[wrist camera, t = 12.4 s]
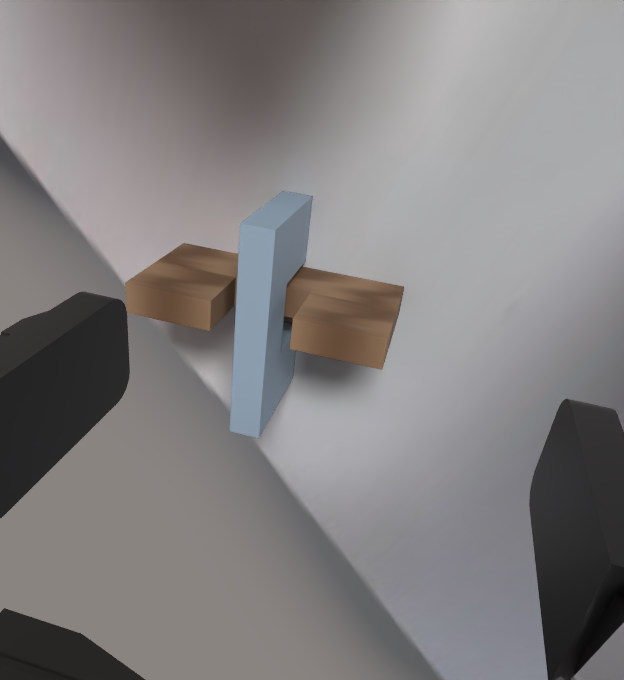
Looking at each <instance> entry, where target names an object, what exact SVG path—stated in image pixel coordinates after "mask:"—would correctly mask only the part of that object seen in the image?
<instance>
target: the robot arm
mask: <svg viewBox="0 0 624 680" xmlns="http://www.w3.org/2000/svg"><path fill="white" fill-rule="evenodd" d="M127 328H128V326H127V311H126V307H125V304H124V303H123V302H122V301H121V300H119V299H115V298H111V297H106V296H101V295H97V294H93V293H88V292H79V293H77V294H75V295H74V296H72V297H71V298H69V299H67V300H66V301H64V302H62V303H61V304H59V305H58V306H56V307H54V308H53V309H51V310H49V311H47V312H43V313H40V314H37V315H34V316H31V317H28V318H24V319H22V320H20V321H19V322H17V323H16V324H14V325H12V326H10V327H9V328H7V329H5V330H4V331H2V332H1V335H0V518H2V517H3V516H4V515H5V514H6V513H7V512H8V511H9V510H10V509H11V508H12V507H13V506H14V505H15V504H16V503H17V502H18V501H19V500H20V499H21V498H22V497H23V496H24V495H25V494H26V493H27V492H28V491H29V490H30V489H31V488H32V487H33V486H34V485H35V484H36V483H37V482H38V481H39V480H40V479H41V478H42V477H43V476H44V475H45V474H46V473H47V472H48V471H49V470H50V469H51V468H52V467H53V466H54V465H55V464H56V463H57V462H58V461H59V460H60V459H61V458H62V457H63V456H64V455H65V454H66V453H67V452H68V451H69V450H71V448H73V447H74V445H76V444H77V443H78V442H79V441H80V440H81V439H82V437H84V436H85V435H86V434H87V433H88V432H89V431H90V430H91V429H92V428H93V427H94V426H95V425H96V423H98V422H99V421H100V420H101V419H102V418H103V417H104V416H105V415H106V414H107V413H108V412H109V411H110V410H111V409H112V408H113V407H114V406H115V405H116V404H117V403H118V402H119V401H120V399H121V398H122V396H123V394H124V392H125V390H126V387H127V384H128V380H129V373H130V369H129V348H128V329H127ZM530 516H531V525H532V534H533V543H534V553H535V562H536V571H537V580H538V590H539V599H540V608H541V617H542V627H543V636H544V645H545V654H546V664H547V673H548V680H624V432H623V429H622V426H621V424H620V421H619V418H618V416H617V413H616V411H615V410H613V409H610V408H606V407H601V406H597V405H592V404H588V403H583V402H578V401H574V400H569V399H565V400H564V401H563V402H562V403H561V405H560V407H559V409H558V411H557V414H556V416H555V419H554V422H553V424H552V427H551V430H550V432H549V435H548V437H547V440H546V443H545V445H544V448H543V451H542V453H541V456H540V459H539V461H538V464H537V467H536V469H535V472H534V476H533V480H532V484H531V491H530ZM0 680H145V679H143V678H142V677H141V676H140V675H138V674H137V673H135V672H134V671H132V670H131V669H130V668H128V667H127V666H125V665H124V664H123V663H121V662H120V661H118V660H117V659H116V658H114V657H113V656H112V655H110V654H109V653H107V652H106V651H105V650H103V649H102V648H101V647H99V646H98V645H96V644H95V643H94V642H92V641H91V640H89V639H88V638H86V637H85V636H84V635H82V634H81V633H77V632H74V631H71V630H68V629H65V628H62V627H59V626H56V625H53V624H50V623H47V622H44V621H41V620H38V619H35V618H32V617H29V616H26V615H23V614H20V613H17V612H14V611H11V610H8V609H5V608H4V609H3V610H2V611H1V613H0Z"/></svg>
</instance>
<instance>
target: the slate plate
mask: <svg viewBox="0 0 624 680" xmlns="http://www.w3.org/2000/svg"><path fill="white" fill-rule="evenodd" d="M312 197H313V196H309V195H303V194H297V193H292V192H286V191H283V192H281V193H280V194H279V195H277V196H276V197H275V198H273V199H272V200H271V201H269V202H268V203H267V204H265V205H264V206H263V207H261V208H260V209H259V210H257V211H256V212H255V213H253V214H252V215H251V216H249V217H248V218H247V219H245V220H244V221H243V222H241V223H240V236H239V256H238V276H237V295H236V315H235V335H234V355H233V374H232V394H231V414H230V431H231V432H235V433H239V434H243V435H247V436H251V437H255V438H259V437H260V435H261V433H262V432H263V430H264V428H265V426H266V424H267V423H268V421H269V419H270V417H271V416H272V414H273V412H274V410H275V408H276V407H277V405H278V403H279V401H280V399H281V398H282V396H283V394H284V392H285V391H286V389H287V387H288V385H289V383H290V382H291V380H292V378H293V372H294V362H295V353H296V350H292V349H290V342H291V332H292V324H290V323H285V322H283V320H284V309H285V299H286V288H287V283H288V282H289V281H290V280H291V278H292V277H293V276H294V275H295V273H296V272H297V271H298V270H299V268H300V267H301V266H302V265H303V264H304V262H305V261H306V252H307V243H308V234H309V225H310V215H311V206H312Z"/></svg>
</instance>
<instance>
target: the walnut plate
mask: <svg viewBox="0 0 624 680" xmlns="http://www.w3.org/2000/svg"><path fill="white" fill-rule="evenodd" d="M238 256H239V254H235V253H230V252H225V251H220V250H215V249H210V248H205V247H200V246H195V245H190V244H185V243H183V244H182V245H180V246H179V247H177V248H176V249H175V250H173V251H172V252H170V253H169V254H167V255H166V256H164V257H163V258H161V259H160V260H158V261H157V262H155V263H154V264H152V265H151V266H149V267H148V268H146V269H145V270H143V271H142V272H140V273H139V274H137V275H136V276H134V277H133V278H131V279H130V280H128V281H127V282H125V288H126V308H127V313H131V314H135V315H140V316H144V317H149V318H153V319H158V320H162V321H167V322H171V323H176V324H180V325H185V326H189V327H194V328H198V329H202V330H207V331H211V330H212V329H213V327H214V326H215V325H216V324H217V323H218V322H219V321H220V320H221V319H222V318H223V317H224V316H225V315H226V314H227V313H228V311H229V310H230V309H231V308H232V307H233V306H234V305H235V306H236V295H237V276H238ZM403 291H404V287H402V286H397V285H392V284H387V283H382V282H377V281H372V280H367V279H362V278H357V277H352V276H346V275H341V274H336V273H331V272H326V271H321V270H316V269H311V268H306V267H300V268H299V270H298V271H297V272H296V273H295V275H294V276H293V277H292V278H291V280H290V281H289V282H288V283H287V288H286V299H285V309H284V316H286V317H291V318H293V322H292V332H291V342H290V349H292V350H296V351H301V352H305V353H310V354H314V355H319V356H323V357H328V358H332V359H337V360H341V361H346V362H350V363H354V364H359V365H363V366H368V367H372V368H377V369H381V370H382V368H383V365H384V362H385V358H386V355H387V352H388V348H389V345H390V342H391V338H392V335H393V332H394V328H395V325H396V322H397V318H398V315H399V311H400V306H401V301H402V296H403Z"/></svg>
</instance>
